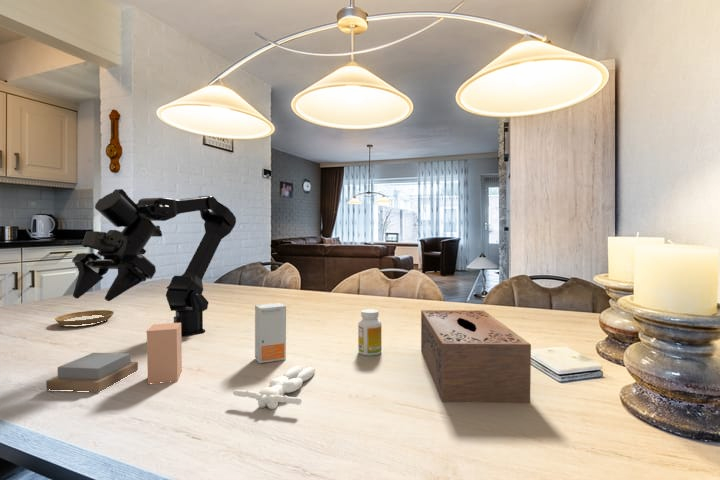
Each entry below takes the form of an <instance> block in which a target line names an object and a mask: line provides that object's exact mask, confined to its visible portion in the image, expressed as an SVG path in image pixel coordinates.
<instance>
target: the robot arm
mask: <svg viewBox="0 0 720 480" xmlns="http://www.w3.org/2000/svg"><path fill="white" fill-rule="evenodd" d="M94 207H95V208H94V209H95V210H97V212H99V213H100V214H101V216H103V217H104V218H106V220H107V221H109V222H110V223H111V224H112V225H113V226H114V227H116V228H120V227H124V228H123V229H122V231H120V230H117V229H109V230H108V231H107V232H105V231H92V230H91V231H85V235H84V238H83V240H82V243H81V247H84V248H90V249H93V250H97V252H96V253H94V252H80V253H77V254H76V255H75V256H74V257H73V258H72V260H71V262H72V263H73V264H74V266H75V267H76V268H77V271H78V277H77V281H76V283H75V287H74V290H73V293H72V297H73V298H75V299H79V298H81V297H82V296H83V295H85V294H86V293H87V292H88V291H90V290H91V289H92V288H93V287H94V286H96V285H97V284H98V283H99V282H100V281H101V280H103V279H104V277H103V276H104V275H106V274H107V273H108V271H109V270H112V269H113V270H117V275H116V277H115V278H114V280H113V281H112V284H111V285H110V287H109V288H108V290H107V292H106V294H105V296H104V300H105V301H108V302H110V301H113V300H114V299H115V298H117V297H119V296H120V295H122V294H123V293H125V292H127V291H128V290H129V289H132V288H134V287H135V286H137V285H139V284H141V283H142V282H146V281H147V279H149V280H151V279H152V278H153V277H154V276H155V274H156V273H157V270H156V268H157V267H156V265H155V264H154V263H153V262H151V261H150V260H149V259H148V258H146V256H145V254H146V252H147V250H146V249H144V248H145V247H146V246H147V243H148V242H149V240H150V239H151V238H152V237H160V238H161V237H163V234H162V230H161V227H160V225H156V224H154V222H165V221H168V220H170V219H171V220H172V219H173V218H175V217H176V216H177V215H180V214H185V213H191V212H198V211H199V213H200V214H199V215H200V218H201V219H202V220H203V222H204V223H203V227H204V234H203V236H202V238H201V241H200V243H199V244H198V246H197V247H196V250H195V252H194V254H193V256H192V258H191V260H190V262H189V263H188V266H187V268H186V269H185V271H184V273H183V274H181V275H174V276H172V278H171V281H170V283H169V285H168V286H166V293H165V297H166V301H167V303H168V306H169V310H170V311H171V312H172V311H175V316H173V323H181V337H184V336H189V335H190V336H191V335H196V334H200V333H205V332H206V329H204V328H203V326H204V324H203V323H204V322H203V319H204V317H203V315H204V314H203V312H205V311H207V310H208V307H209V300H207V299H206V297H204V295H203V292H204V286H203V278H204V277H205V274H206V272H207V270H208V268H209V265H210V264H211V261H212V259H213V258H214V255H215V253H216V251H217V249H218V247H219V245H220V243H221V241H222V240H223V239H224V238H225V237H227V236H228V235H230V234H231V233H232V231H233V230H234V228H235V227H236V223H237V216H235V214H234V212H232V211H231V209H229V207H227V206H226V205H224V204H223V203H221V202H219V201H218V200H217V199H216V198H215V197H214V196H212V195H199V196H196V197H188V198H180V199H179V198H177V199H174V198H168V197H145V198H144V197H143V198H140V199H139V200H138V202H137V203H136V202H134V201H133V199H132V198H131V197H130V196H129V195H128V194H127V192H126V191H125V190H124V189H118V188H117V189H114V190H113V191H112V192H110V193H108V194H106V195H104V196H103V197H102V198H99V199H98V200H97V202H96V203H95V206H94ZM97 254H98V255H97ZM99 255H100V256H101V257H103V258H100V257H99Z"/></svg>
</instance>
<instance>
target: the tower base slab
mask: <svg viewBox="0 0 720 480" xmlns="http://www.w3.org/2000/svg"><path fill="white" fill-rule="evenodd" d="M137 370H138V371H139V363H138V362H137V361H131V364H129V365H127V366H125V367H123V368H121V369H119V370H117V371H115V372H113V373H111V374H109V375H107V376H105V377H103V378H101V379H99V380H94V379H65V378H58V375H56V376H53V377H51V378H49V379H47V380H46V383H45V384H46V391H47V390H49V389H50V390H73V391H89V392H100V391H102V390H104V389H106V388H107V387H109V386H111V385H113V384H114V383H116V382H118V381H120V380H121V379H123V378H125V377H127V376H128V375H130V374H132V373H134V372H136V371H137ZM136 373H137V372H136ZM134 374H135V373H134ZM127 378H128V377H127ZM125 379H126V378H125ZM120 382H121V381H120ZM118 383H119V382H118ZM116 384H117V383H116ZM113 386H114V385H113ZM111 387H112V386H111ZM109 388H110V387H109ZM107 389H108V388H107ZM107 389H106V390H107ZM104 391H105V390H104ZM102 392H103V391H102ZM100 393H101V392H100Z"/></svg>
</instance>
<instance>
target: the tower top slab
mask: <svg viewBox="0 0 720 480" xmlns="http://www.w3.org/2000/svg"><path fill="white" fill-rule="evenodd" d="M131 357H132V355H131V353H122V352H121V353H118V352H113V353H112V352H92V353H89V354H87V355H84V356H82V357H79V358H77V359H74V360H72V361H70V362H67V363H64V364H63V365H60V366H57V376H58V378H65V379H94V380H99V379H101V378H103V377H105V376H107V375H109V374H111V373H113V372H115V371H117V370H119V369H121V368H123V367H125V366H127V365H129V364H131V362H132V360H131Z"/></svg>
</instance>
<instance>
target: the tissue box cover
mask: <svg viewBox="0 0 720 480" xmlns="http://www.w3.org/2000/svg"><path fill="white" fill-rule="evenodd" d="M420 312H421V313H420V314H421V315H420V316H421V317H420V321H421V322H420V324H421V325H420V331H421V332H420V339H421V341H420V343H421V345H420V352H421V354H422V356H423V359H424V362H425V364H426V366H427V368H428V371H429V373H430V376H431V379H432V381H433V383H434V385H435V388H436V390H437V393H438V395H439V398H440V400H441V402H442V403H477V404H478V403H479V404H481V403H487V404H488V403H489V404H490V403H491V404H493V403H495V404H498V403H499V404H505V403H506V404H531V383H532V382H531V380H532V379H531V376H532V375H531V374H532V373H531V372H532V371H531V369H532V367H531V366H532V365H531V364H532V363H531V362H532V361H531V359H532V357H531V356H532V344H531V343H530V342H528V341H527V340H526V339H524V338H523V337H522V336H520V335H518V334H517V333H516V332H515V331H513V330H512V329H510V328H509V327H507V326H506V325H504V324H503V323H502V322H501V321H499V320H497V319H496V318H495V317H493V316H492V315H490V314H489V313H487V312H486V311H485V310H483V309H482V310H477V309H476V310H474V309H473V310H472V309H471V310H466V309H464V310H463V309H462V310H458V309H452V310H450V309H444V310H443V309H441V310H437V309H436V310H435V309H433V310H432V309H428V310H427V309H423V310H422V309H421V311H420Z"/></svg>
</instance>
